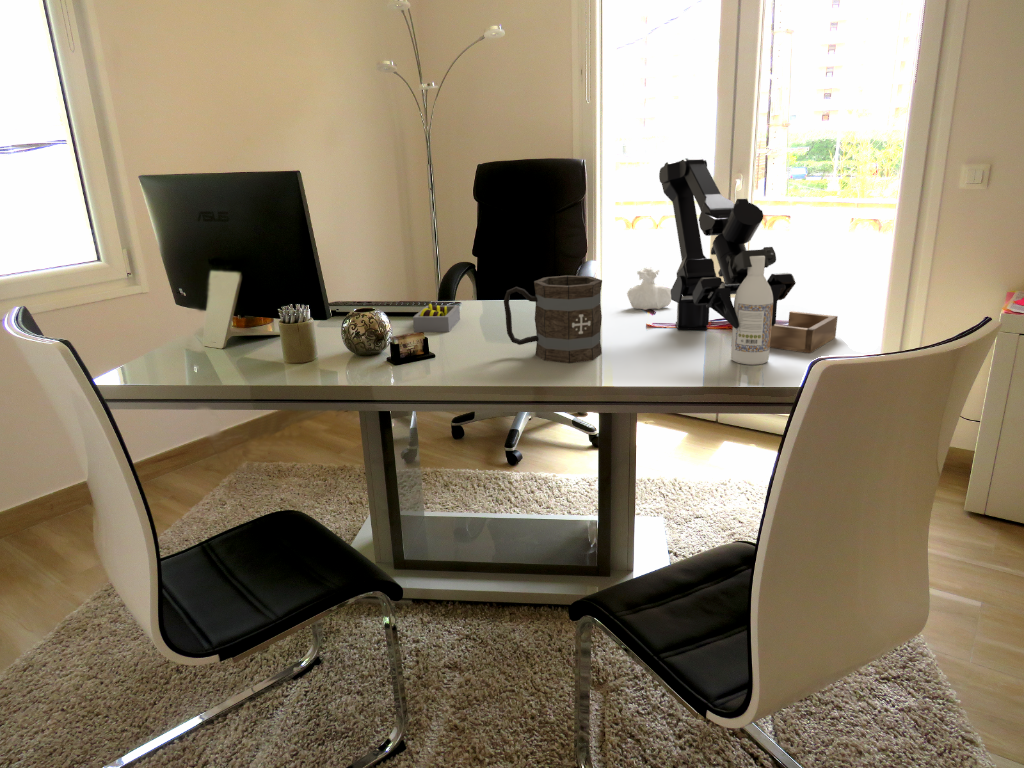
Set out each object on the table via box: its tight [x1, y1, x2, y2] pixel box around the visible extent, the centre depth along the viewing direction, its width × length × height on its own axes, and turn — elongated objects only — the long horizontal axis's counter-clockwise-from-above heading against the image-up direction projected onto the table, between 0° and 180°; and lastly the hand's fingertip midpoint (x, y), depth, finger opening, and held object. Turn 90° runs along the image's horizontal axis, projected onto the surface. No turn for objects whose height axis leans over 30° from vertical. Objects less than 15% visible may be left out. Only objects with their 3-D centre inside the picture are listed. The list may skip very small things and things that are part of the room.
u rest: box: [770, 310, 838, 354], centre depth 151 cm, size 10×15×5 cm, turn 140°
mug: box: [503, 274, 603, 364], centre depth 146 cm, size 20×14×15 cm
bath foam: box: [730, 256, 773, 366], centre depth 137 cm, size 7×7×20 cm
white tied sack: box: [626, 267, 672, 310], centre depth 189 cm, size 12×8×11 cm
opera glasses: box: [420, 303, 448, 316], centre depth 176 cm, size 10×5×5 cm, turn 173°
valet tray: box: [412, 305, 461, 333], centre depth 176 cm, size 8×13×4 cm, turn 173°
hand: (755, 325), depth 136 cm, fingers closed on bath foam, 7 cm apart
